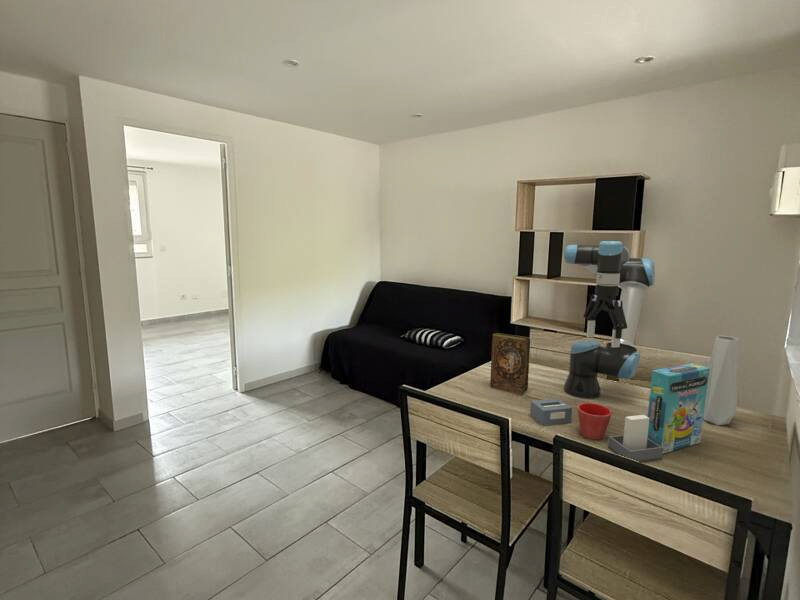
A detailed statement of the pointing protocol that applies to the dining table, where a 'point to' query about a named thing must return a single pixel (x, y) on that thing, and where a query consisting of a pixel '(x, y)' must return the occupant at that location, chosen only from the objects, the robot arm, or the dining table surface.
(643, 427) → the white rectangular block
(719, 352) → the vase
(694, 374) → the game box
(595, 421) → the flower pot
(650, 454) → the bin
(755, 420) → the dining table surface
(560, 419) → the dispenser
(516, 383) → the book
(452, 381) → the dining table surface
